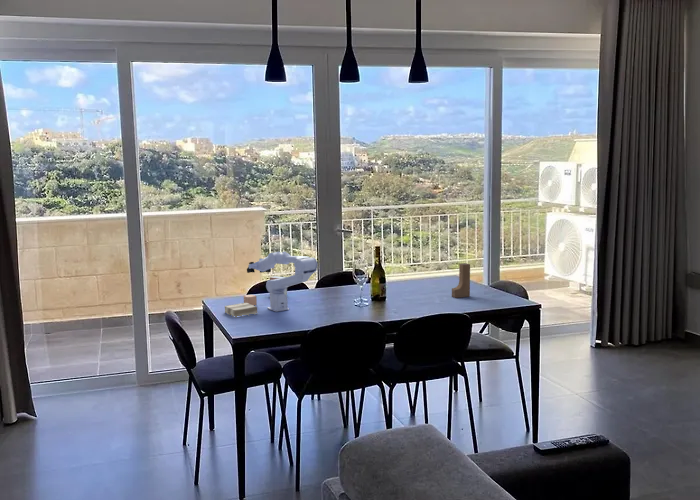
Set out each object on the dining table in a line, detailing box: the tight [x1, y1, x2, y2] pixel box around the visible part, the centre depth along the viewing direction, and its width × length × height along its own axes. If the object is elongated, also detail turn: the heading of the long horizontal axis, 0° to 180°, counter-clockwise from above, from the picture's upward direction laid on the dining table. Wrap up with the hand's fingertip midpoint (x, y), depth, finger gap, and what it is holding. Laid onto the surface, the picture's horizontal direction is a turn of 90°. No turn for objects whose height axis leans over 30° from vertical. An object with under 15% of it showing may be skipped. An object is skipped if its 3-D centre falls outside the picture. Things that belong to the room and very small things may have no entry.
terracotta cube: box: [243, 294, 258, 306], centre depth 355 cm, size 5×5×5 cm
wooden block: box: [451, 262, 471, 299], centre depth 366 cm, size 9×4×18 cm, turn 108°
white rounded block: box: [269, 275, 288, 296], centre depth 376 cm, size 8×6×10 cm
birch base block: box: [224, 302, 258, 318], centre depth 337 cm, size 12×12×4 cm
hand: (253, 270), depth 358 cm, fingers open, 7 cm apart
